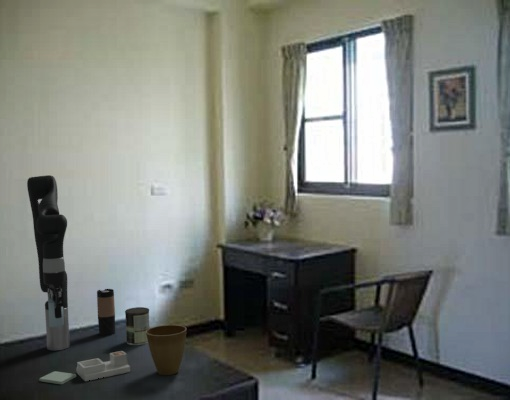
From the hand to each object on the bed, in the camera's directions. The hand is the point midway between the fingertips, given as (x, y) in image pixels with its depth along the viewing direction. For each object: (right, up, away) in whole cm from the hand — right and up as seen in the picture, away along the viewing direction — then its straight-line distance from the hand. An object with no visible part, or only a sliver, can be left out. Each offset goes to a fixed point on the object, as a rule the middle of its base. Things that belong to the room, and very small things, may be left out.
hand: (56, 316), depth 224 cm
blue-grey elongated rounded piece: (0, -3, 0) cm, 3 cm away
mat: (0, -23, +1) cm, 23 cm away
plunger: (+20, -20, +10) cm, 30 cm away
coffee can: (+21, -20, +45) cm, 54 cm away
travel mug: (+4, -19, +59) cm, 62 cm away
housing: (+15, -22, +7) cm, 28 cm away
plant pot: (+40, -22, +6) cm, 46 cm away
